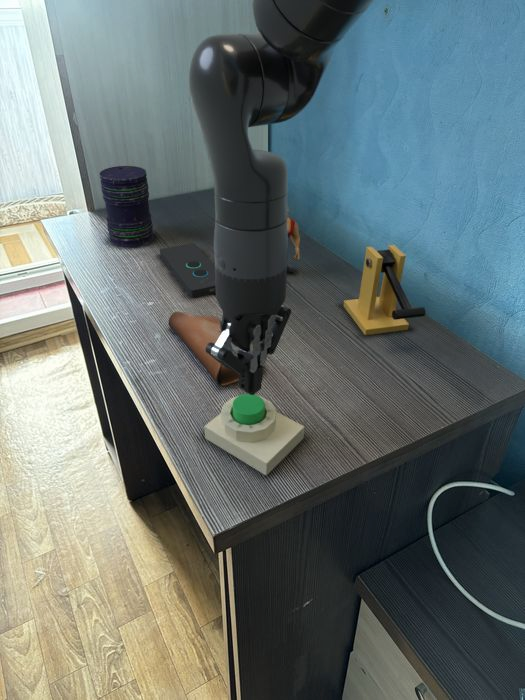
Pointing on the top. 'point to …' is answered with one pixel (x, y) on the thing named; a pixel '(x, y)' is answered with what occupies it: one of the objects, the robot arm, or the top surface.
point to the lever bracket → (369, 308)
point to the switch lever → (398, 289)
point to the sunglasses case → (202, 343)
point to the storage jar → (127, 206)
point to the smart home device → (190, 269)
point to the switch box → (255, 437)
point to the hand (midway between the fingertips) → (250, 389)
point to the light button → (248, 409)
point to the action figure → (293, 236)
